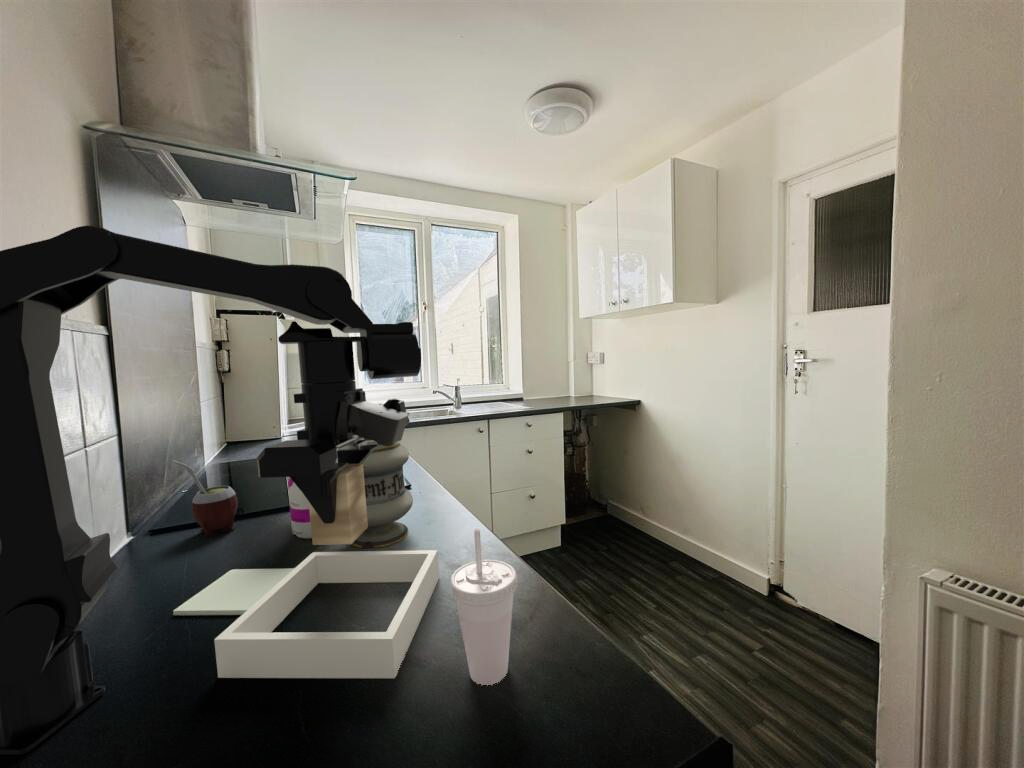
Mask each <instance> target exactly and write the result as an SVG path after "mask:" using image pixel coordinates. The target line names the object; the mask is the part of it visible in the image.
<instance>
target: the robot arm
mask: <svg viewBox="0 0 1024 768" xmlns="http://www.w3.org/2000/svg"><path fill="white" fill-rule="evenodd" d="M118 280H128V281H133V282H136V283H137V282H138V283H144V284H149V285H155V286H161V287H167V288H171V289H177V290H182V291H183V290H184V291H187V292H194V293H198V294H205V295H210V296H215V297H222V298H227V299H232V300H238V301H243V302H248V303H254V304H257V305H259V306H262V307H265V308H268V309H272V310H273V311H276V312H279V313H281V314H283V315H287V316H290V317H292V318H295V319H298V320H302V321H303V322H304V321H305V322H308V323H309V324H313V325H319V326H320V325H321V326H325V325H329V326H332V327H333V328H335V329H337V330H338V331H340V332H342V333H344V334H359V336H334V335H333V332H332V329H331V327H329V328H328V327H325V328H324V327H319V328H318V327H316V328H315V327H313V328H311V327H310V328H309V327H308V328H304V327H302V326H301V325H300V324H298V323H297V321H294V320H293V321H291V322H290V325H289V327H288V328H287V329H286V331H285V332H284V333H282V334H281V335H279V337H278V343H280V344H281V345H295V344H296V345H297V351H298V360H299V361H298V363H299V373H300V384H301V385H300V386H301V392H300V393H293V402H294V404H302V410H303V419H304V420H303V421H304V428H302V429H299V430H297V431H296V437H297V439H290V440H287V439H286V440H284V441H280V442H278V443H275V444H272V445H269V446H267V447H264V448H263V449H262V451H261V452H260V453H259V454H258V456H257V457H256V462H257V472H258V474H257V475H258V477H259V478H262V479H263V478H266V479H267V478H269V479H270V478H287V477H290V478H291V480H292V481H293V482H294V483H295V484H296V486H297V487H298V488H299V489H300V490H301V492H302V493H303V494H304V496H305V497H306V498H307V500H308V501H309V503H310V504H311V505H312V507H313V508H314V510H315V511H316V513H317V514H318V516H319V517H320V518H321V520H322V521H323V523H325V524H331V523H333V522H334V521H335V512H336V490H337V477H338V475H339V474H340V473H341V472H342V471H343V469H344V468H345V467H346V466H347V465H348V464H361V463H364V460H365V459H366V458H367V457H368V456H369V455H370V454H371V453H372V452H373V451H374V450H375V449H376V448H377V446H378V445H367V440H364V438H367V439H370V440H373V441H376V442H377V443H378V444H380V445H383V446H393V445H394V444H395V442H397V441H399V442H401V441H402V440H403V436H404V433H405V429H406V426H408V425H409V424H410V419H409V414H410V412H407V409H406V405H405V404H406V403H405V401H404V400H403V399H399V398H396V397H393V398H389V399H387V401H386V402H385V403H384V404H383V405H382V403H379V402H377V403H373V402H369V401H367V397H366V391H364V389H363V388H357V385H356V383H357V382H356V371H355V358H354V356H355V355H354V345H353V343H356V357H357V358H356V359H357V366H358V370H359V372H367V375H368V378H369V379H370V380H376V379H377V380H380V379H393V378H395V379H396V378H406V377H407V378H409V377H417V376H419V374H420V371H421V367H422V351H421V350H422V349H421V347H420V346H419V341H418V338H417V335H416V333H415V331H414V323H413V322H412V321H402V322H396V323H373V321H371V319H370V318H369V317H368V315H367V314H366V313H365V312H364V311H363V310H362V308H361V307H360V306H359V305H358V304H357V303H356V301H354V299H353V298H352V297H353V295H352V294H353V293H352V292H353V291H352V289H351V286H350V284H349V282H348V281H347V279H346V278H345V277H344V275H343V274H342V273H341V272H339V271H337V270H335V269H333V268H330V267H328V266H319V265H317V266H316V265H306V264H305V265H304V264H260V263H259V264H258V263H257V264H256V263H253V262H248V261H243V260H238V259H234V258H230V257H225V256H220V255H217V254H211V253H207V252H202V251H197V250H194V249H189V248H184V247H181V246H180V247H179V246H176V245H171V244H166V243H162V242H158V241H153V240H147V239H145V238H144V239H143V238H140V237H139V238H138V237H134V236H130V235H125V234H120V233H116V232H114V231H111V230H109V229H106V228H105V227H101V226H96V225H82V226H77V227H74V228H72V229H68V230H67V231H65V232H63V233H61V234H58V235H56V236H53V237H51V238H48V239H43V240H39V241H35V242H31V243H26V244H23V245H20V246H19V245H18V246H15V247H11V248H7V249H3V250H0V755H18V756H19V755H23V754H26V753H29V752H31V750H33V749H35V748H36V747H37V746H38V745H40V744H41V743H42V742H43V741H45V739H47V738H49V737H50V736H51V735H52V734H53V733H55V732H56V731H57V730H59V729H60V728H61V727H62V726H64V725H65V724H66V723H68V722H69V721H70V720H71V719H73V718H75V716H77V715H78V714H79V713H80V712H82V711H83V710H84V709H85V708H87V707H88V706H89V705H91V704H92V703H94V702H95V701H96V700H97V699H98V698H100V697H101V696H103V694H105V692H106V686H105V685H91V684H92V683H93V681H94V679H93V677H94V676H93V670H92V668H93V667H92V660H91V653H90V644H89V642H85V640H84V633H83V630H76V631H75V629H76V628H78V626H79V625H80V624H81V623H82V622H83V621H84V619H85V618H86V617H87V616H88V614H89V613H90V612H91V610H92V609H93V608H94V606H95V605H96V604H97V602H99V600H100V598H102V597H103V595H104V594H105V592H106V590H107V589H108V586H109V583H110V579H111V577H112V576H113V575H114V574H115V573H116V571H117V570H118V566H117V565H116V564H115V563H114V562H113V559H112V557H111V555H110V554H111V552H110V550H111V548H110V547H111V537H110V533H109V532H106V533H102V534H99V535H97V536H94V537H90V536H89V535H88V534H87V533H86V531H84V529H83V528H82V527H81V526H80V525H79V523H78V521H77V518H76V513H75V508H74V507H75V506H74V503H73V497H72V490H71V485H70V481H69V476H68V475H69V474H68V470H67V465H66V464H67V463H66V460H65V454H64V450H63V442H62V438H61V437H62V436H61V433H60V427H59V421H58V416H57V410H56V405H55V401H54V395H53V390H52V384H51V380H50V379H51V374H50V373H51V369H52V367H53V363H54V361H55V358H56V355H57V353H58V349H59V347H60V342H61V340H60V339H61V327H62V326H61V325H62V315H64V314H66V313H68V312H69V311H72V310H74V309H76V308H78V307H80V306H82V305H84V304H85V303H86V302H87V301H88V300H90V299H92V297H94V296H95V295H97V294H98V293H99V292H101V291H102V290H103V289H105V288H106V287H107V286H109V285H110V284H112V283H114V282H116V281H118Z"/></svg>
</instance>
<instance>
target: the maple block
mask: <svg viewBox="0 0 1024 768" xmlns="http://www.w3.org/2000/svg"><path fill="white" fill-rule="evenodd" d="M309 507H310V519H311V530H312V538H311V539H312V541H311V542H312V546H317V545H324V546H325V545H327V546H328V545H352V543H353V542H354V541H355V540H356V539H357V538H358V537H359V536H360V535H361V534H362V533H363V532H364V531H365V530H366V529H367V528H368V523H367V510H366V496H365V483H364V470H363V463H361V464H348V465H347V466H346V467H345V468H344V469H343V471H342V472H341V473H340V474H339V475H338V477H337V490H336V512H335V521H334V522H333V523H331V524H325V523H323V521H322V520H321V518H320V517H319V516H318V514H317V513H316V511H315V510H314V508H313V507H312V505H311V504H310V503H309Z"/></svg>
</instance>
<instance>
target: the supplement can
mask: <svg viewBox="0 0 1024 768" xmlns="http://www.w3.org/2000/svg"><path fill="white" fill-rule="evenodd" d="M286 478H287V489H288V500H289V502H288V503H289V512H290V523H291V532H292V534H293V535H296V537H297V538H299V539H312V530H311V519H310V507H309V501H308V500H307V498H306V497H305V496H304V494H303V493H302V492H301V490H300V489H299V488H298V487H297V486H296V484H295V483H294V482H293V481H292V480H291V478H290V477H286Z"/></svg>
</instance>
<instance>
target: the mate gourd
mask: <svg viewBox="0 0 1024 768" xmlns="http://www.w3.org/2000/svg"><path fill="white" fill-rule="evenodd" d="M170 462H172V463H174V464H176V465H178V466H180V467H182V468H184V469H185V470H186V471H187V473H188V474H189V475H190V476H191V477H192V479H193V481H194V482H195V484H196V486H197V487H198V489H199V491H197V492H196V494H195V495H194V497H193V498H192V501H191V502H192V503H191V511H192V516H193V518H194V520H195V522H196V523H197V525H199V526H200V527H201V529H200V533H201V532H205V534H204V535H203V539H204V538H206V539H209V538H211V537H212V535H213V534H214V535H215V533H216V534H218V533H223V532H222V531H232V532H234V531H235V529H236V528H235V527H234V521H235V515H236V513H237V511H238V507H239V501H238V500H239V499H238V496H237V492H235V490H234V489H233V488H232V487H231V486H229V485H219V486H218V485H217V486H212V487H207V488H204V487H203V485H202V484H201V482H200V480H199V479H198V476H197V475H196V474H195V470H194V469H193V468H192V467H191V466H189V465H187V464H185V463H183V462H179V461H177V460H173V459H171V460H170ZM233 530H234V531H233ZM217 532H218V533H217ZM214 535H213V536H214ZM210 536H211V537H210Z"/></svg>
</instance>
